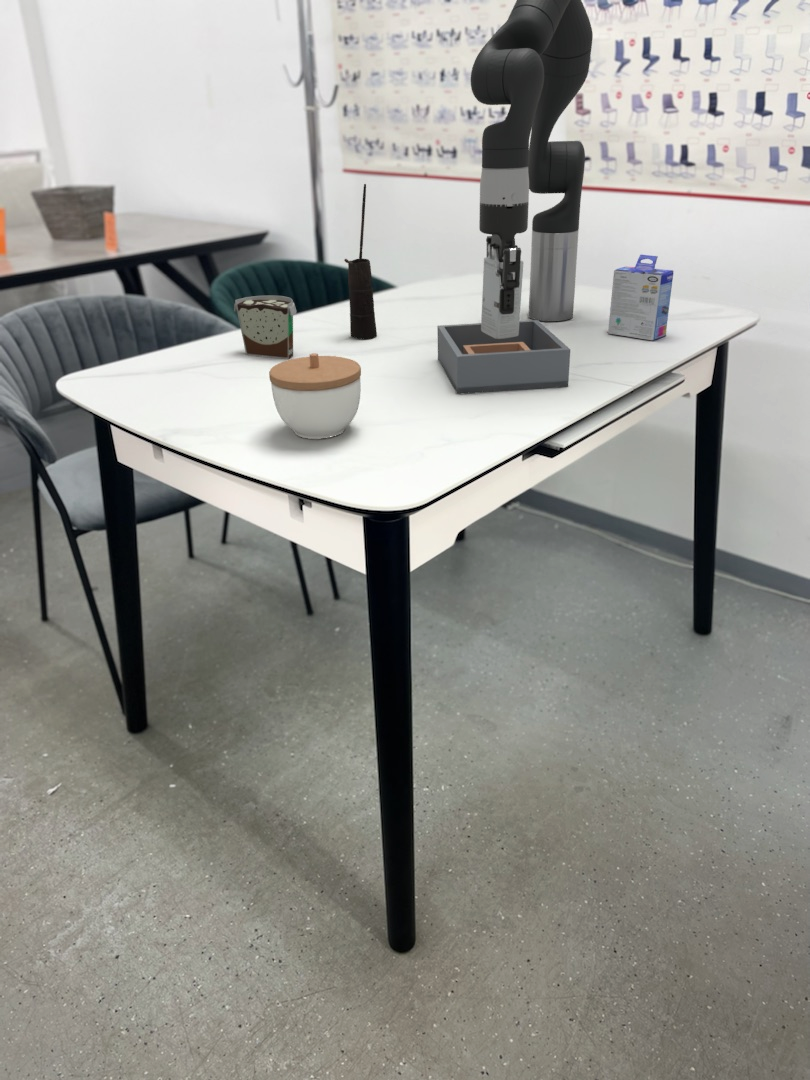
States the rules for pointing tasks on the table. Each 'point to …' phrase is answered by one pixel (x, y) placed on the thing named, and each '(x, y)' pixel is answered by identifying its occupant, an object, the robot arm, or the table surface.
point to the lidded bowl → (316, 394)
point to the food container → (267, 325)
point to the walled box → (502, 358)
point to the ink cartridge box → (640, 300)
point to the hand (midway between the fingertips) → (501, 308)
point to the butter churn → (361, 292)
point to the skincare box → (491, 316)
